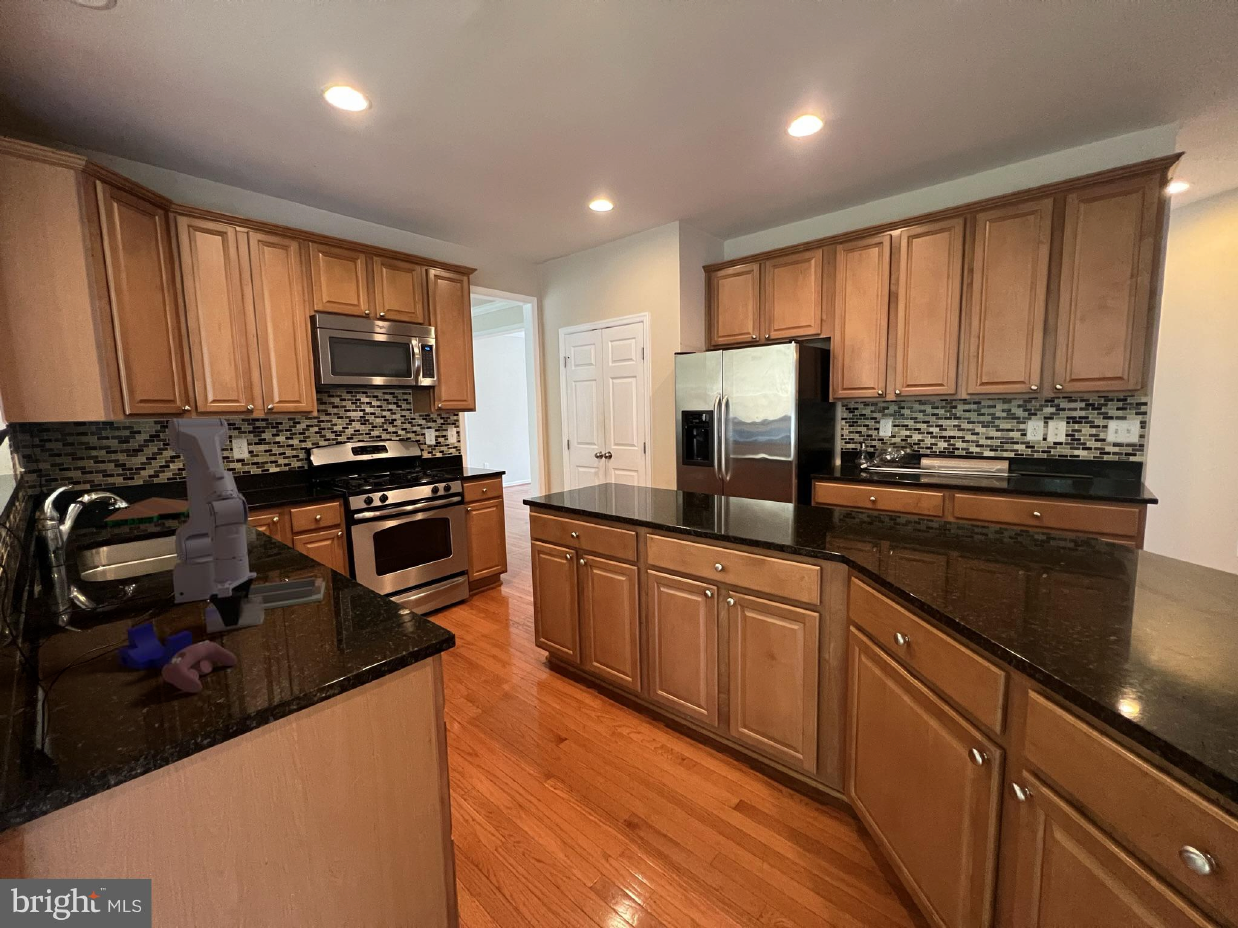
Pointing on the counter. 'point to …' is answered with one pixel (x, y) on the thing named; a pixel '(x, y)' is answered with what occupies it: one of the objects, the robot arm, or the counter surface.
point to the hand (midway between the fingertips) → (236, 618)
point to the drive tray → (289, 592)
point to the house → (149, 510)
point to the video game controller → (202, 657)
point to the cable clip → (151, 647)
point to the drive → (248, 615)
